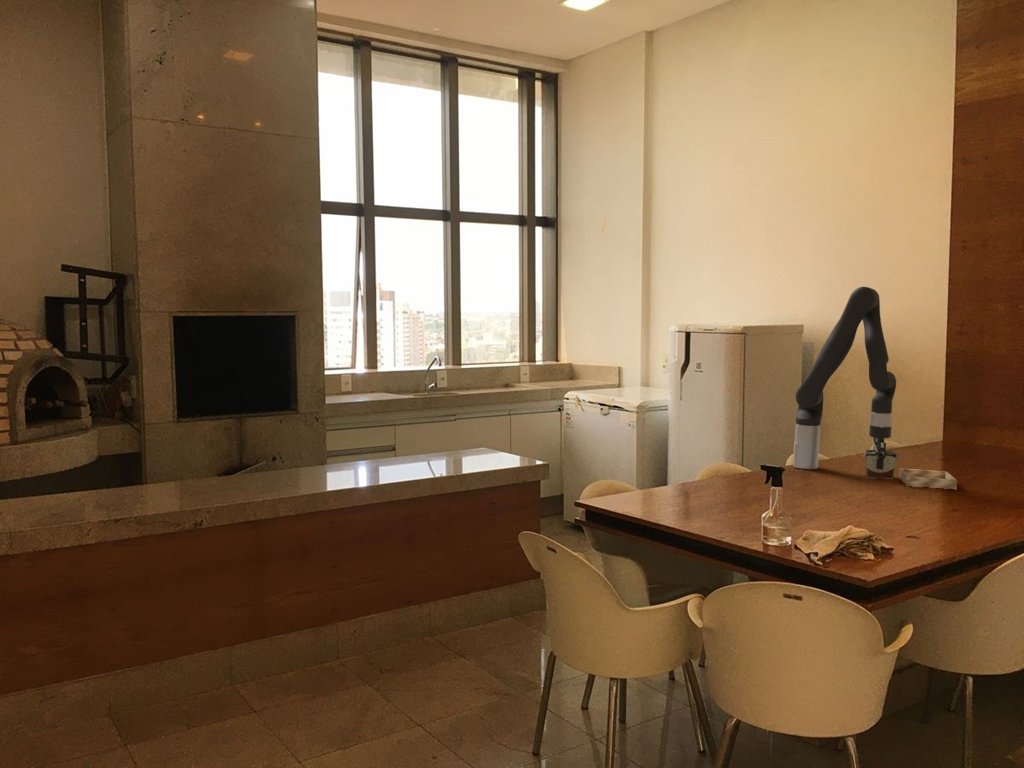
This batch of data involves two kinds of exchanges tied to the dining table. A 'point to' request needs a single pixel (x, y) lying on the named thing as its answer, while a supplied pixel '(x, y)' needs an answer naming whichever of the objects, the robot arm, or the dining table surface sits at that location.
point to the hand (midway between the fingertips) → (878, 467)
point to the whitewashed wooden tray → (928, 478)
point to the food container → (887, 465)
